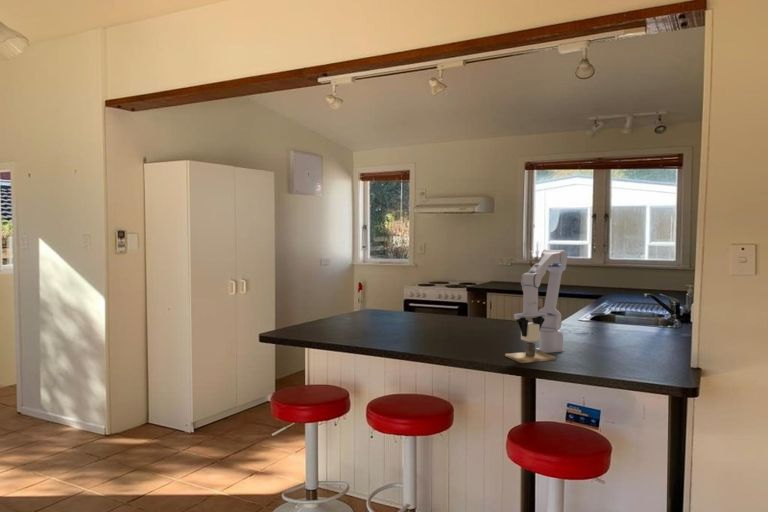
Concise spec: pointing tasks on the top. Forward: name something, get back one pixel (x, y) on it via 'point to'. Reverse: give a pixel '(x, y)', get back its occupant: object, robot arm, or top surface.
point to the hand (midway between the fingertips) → (530, 335)
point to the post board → (529, 359)
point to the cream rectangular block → (531, 332)
